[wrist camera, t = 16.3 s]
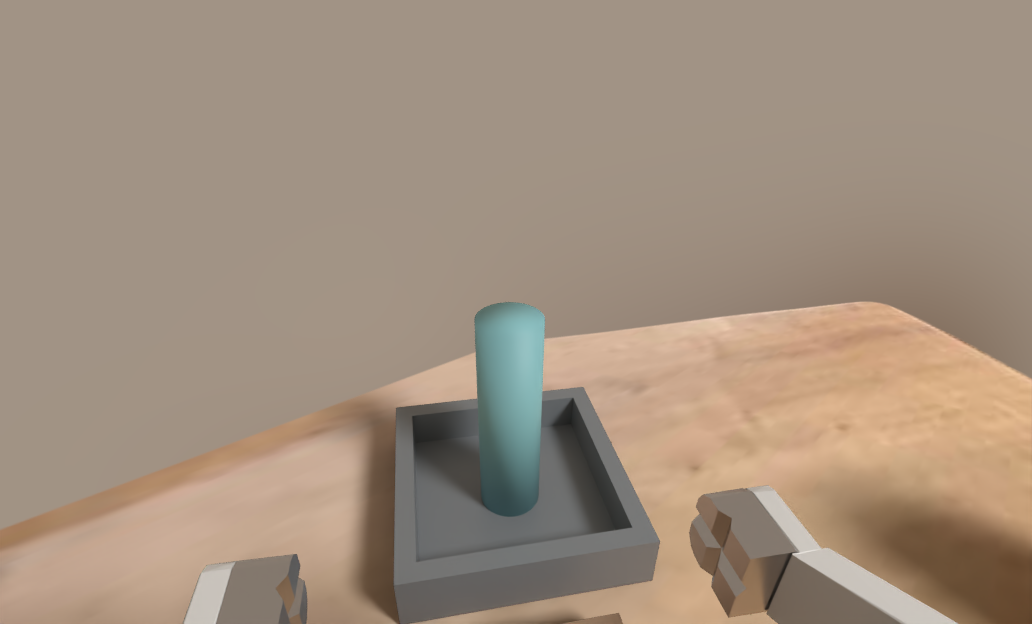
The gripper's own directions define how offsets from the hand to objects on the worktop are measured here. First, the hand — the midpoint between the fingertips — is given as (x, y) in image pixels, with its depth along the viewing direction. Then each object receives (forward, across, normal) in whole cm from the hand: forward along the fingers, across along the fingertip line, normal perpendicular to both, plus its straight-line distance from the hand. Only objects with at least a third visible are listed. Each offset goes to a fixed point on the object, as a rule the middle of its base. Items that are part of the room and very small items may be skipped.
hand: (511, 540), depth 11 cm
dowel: (+19, -4, +20) cm, 28 cm away
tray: (+19, -4, +21) cm, 28 cm away
